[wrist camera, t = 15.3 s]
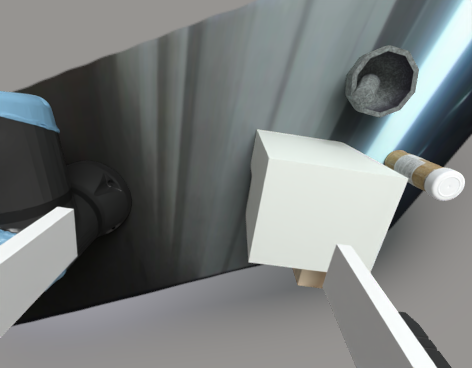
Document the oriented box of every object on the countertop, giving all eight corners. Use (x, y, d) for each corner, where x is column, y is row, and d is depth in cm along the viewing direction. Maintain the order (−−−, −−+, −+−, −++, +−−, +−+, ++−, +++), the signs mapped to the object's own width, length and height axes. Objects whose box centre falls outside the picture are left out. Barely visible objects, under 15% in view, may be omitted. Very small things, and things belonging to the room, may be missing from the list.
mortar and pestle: (387, 42, 42) (441, 27, 31) (396, 99, 45) (449, 103, 34) (319, 70, 44) (348, 65, 33) (333, 122, 47) (363, 135, 36)
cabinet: (244, 198, 52) (248, 262, 34) (256, 129, 47) (269, 158, 29) (322, 209, 53) (368, 277, 34) (342, 142, 48) (408, 178, 29)
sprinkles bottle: (412, 161, 49) (472, 187, 37) (391, 177, 50) (442, 207, 38) (399, 144, 48) (456, 165, 36) (378, 160, 49) (426, 186, 37)
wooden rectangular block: (285, 245, 56) (297, 285, 45) (302, 179, 51) (321, 205, 40) (308, 248, 56) (325, 288, 45) (327, 182, 51) (352, 210, 40)
